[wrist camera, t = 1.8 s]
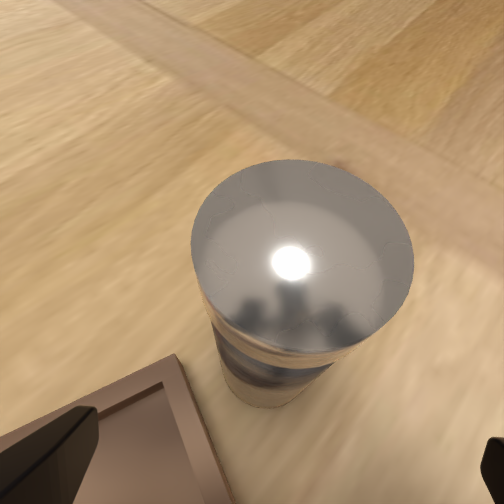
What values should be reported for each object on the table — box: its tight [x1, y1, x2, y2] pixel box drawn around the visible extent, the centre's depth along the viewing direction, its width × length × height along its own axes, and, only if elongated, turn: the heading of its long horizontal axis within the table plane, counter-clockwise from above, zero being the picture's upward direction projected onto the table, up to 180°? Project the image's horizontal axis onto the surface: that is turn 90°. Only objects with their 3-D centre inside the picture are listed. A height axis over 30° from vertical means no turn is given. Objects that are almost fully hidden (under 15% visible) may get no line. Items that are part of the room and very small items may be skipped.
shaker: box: [191, 160, 414, 408], centre depth 13 cm, size 5×5×13 cm
